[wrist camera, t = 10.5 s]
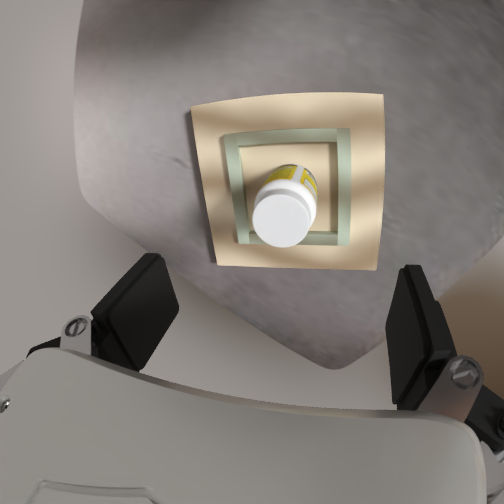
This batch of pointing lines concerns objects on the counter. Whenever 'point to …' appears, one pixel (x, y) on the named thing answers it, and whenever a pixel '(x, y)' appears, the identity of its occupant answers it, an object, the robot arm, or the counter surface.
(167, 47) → the counter surface
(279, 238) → the supplement bottle
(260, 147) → the board
